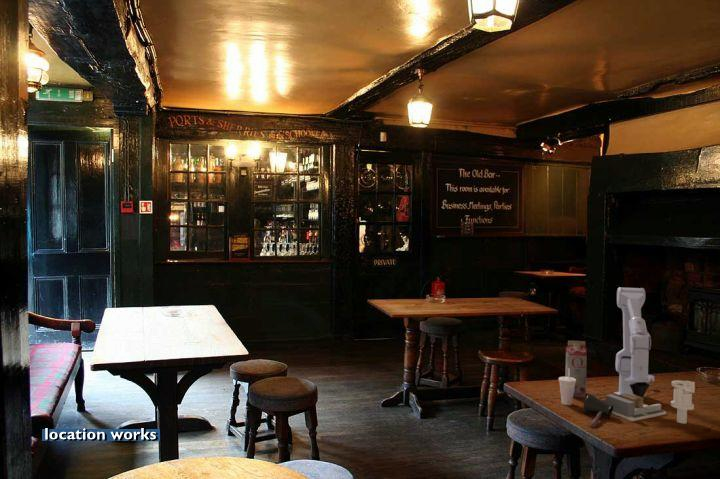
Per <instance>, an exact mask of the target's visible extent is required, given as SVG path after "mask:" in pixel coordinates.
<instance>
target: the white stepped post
mask: <svg viewBox="0 0 720 479" xmlns="http://www.w3.org/2000/svg"><path fill="white" fill-rule="evenodd" d="M695 383H696V382H695V381H691V380H671V386H672V387H674V389H673V400H671V401H670V406H671V407H672V408H674V409H676V423H679V424H683V425H684V424H687V423H688V422H687V421H688V411H693V410H695V404H693V401H692V400H693V399H692V398H693V394H694V393H695V390H696V389H695V388H696V386H695V385H696V384H695Z"/></svg>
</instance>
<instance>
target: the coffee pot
mask: <svg viewBox="0 0 720 479" xmlns="http://www.w3.org/2000/svg"><path fill="white" fill-rule="evenodd" d="M582 407H583V408H582V410H583V413H584V414H588V415H593V416H595V417H594V418H593V420H592V421H588V422H587V426H588V427H590V428H592V429H596V427H597V425H598V423H599V421H600V418H601V417H605V418H607V419H608V420H609V419H610V418H611V417H612V415H613V414H612V412H613V405H607V404H606V403H605V401H603V400H601V399H600V398H599V397H597V396H596V395H595V394H593V393H588V394H587V395H586V397H585V400H584V403H583V406H582ZM589 423H590V425H589Z"/></svg>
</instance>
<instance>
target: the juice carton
mask: <svg viewBox="0 0 720 479" xmlns="http://www.w3.org/2000/svg"><path fill="white" fill-rule="evenodd" d="M587 356H588V350H587V346H586V341H585V340H583V341H582V340H568V341H567V345H566V347H565V373H564V374H565V376H564V377H568V368H570V377H571V378H574V379H576V383H575V387H574V393H573V398H574V397H575V398H586V397H587V395H586V393H587V364H588V363H587V361H588V358H587Z"/></svg>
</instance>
